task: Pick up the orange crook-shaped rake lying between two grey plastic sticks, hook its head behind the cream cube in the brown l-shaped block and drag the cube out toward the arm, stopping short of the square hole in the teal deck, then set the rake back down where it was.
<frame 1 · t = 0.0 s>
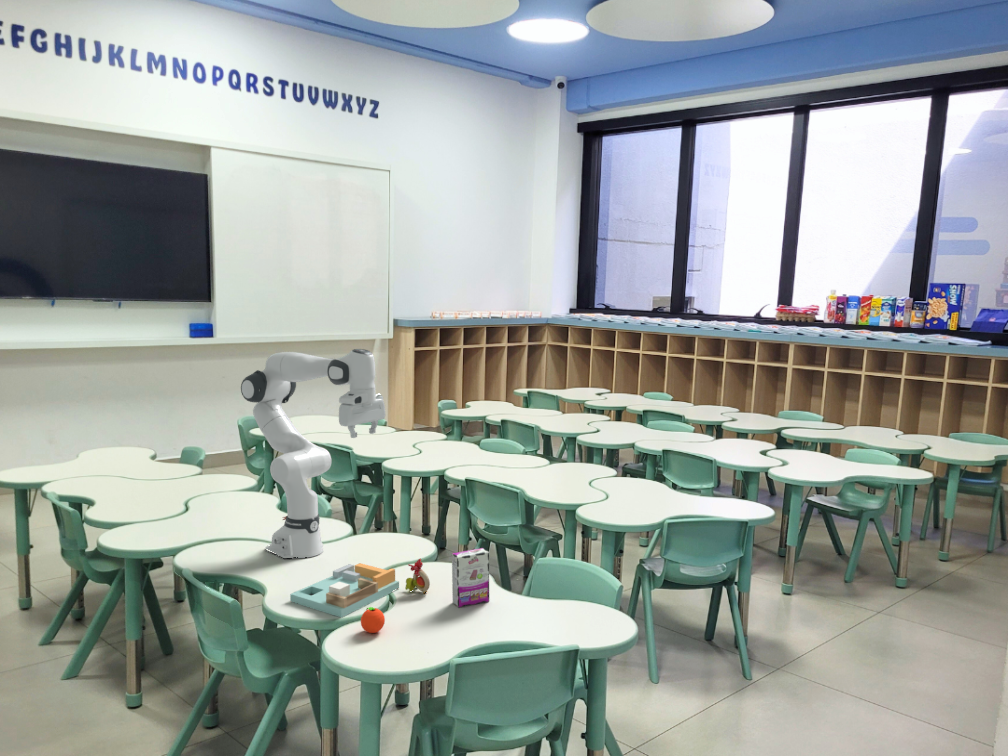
hand: (363, 435, 268), 48 cm above the table, tool pointing down, fingers open, 8 cm apart
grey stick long: (351, 579, 257), point 2 cm above the table, touching deck
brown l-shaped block: (352, 597, 242), resting on deck
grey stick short: (343, 574, 261), point 2 cm above the table, touching deck
deck: (345, 595, 250), on the table
clementine: (372, 632, 224), on the table
cube: (339, 599, 240), point 2 cm above the table, touching deck
bird rattle: (419, 592, 253), on the table
rake: (372, 576, 259), point 2 cm above the table, touching deck
candy bar box: (470, 602, 245), on the table
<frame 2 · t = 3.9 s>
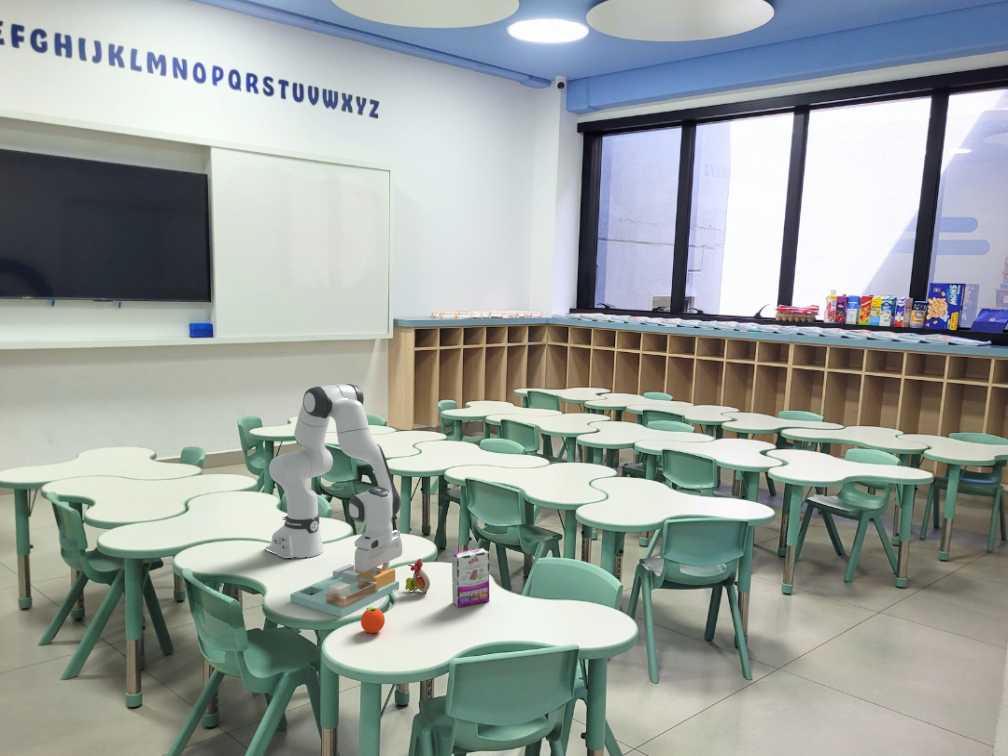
hand: (379, 576, 257), 3 cm above the table, tool pointing down, fingers closed on rake, 3 cm apart
rake: (372, 576, 259), point 2 cm above the table, touching deck, gripper
everything else where it was.
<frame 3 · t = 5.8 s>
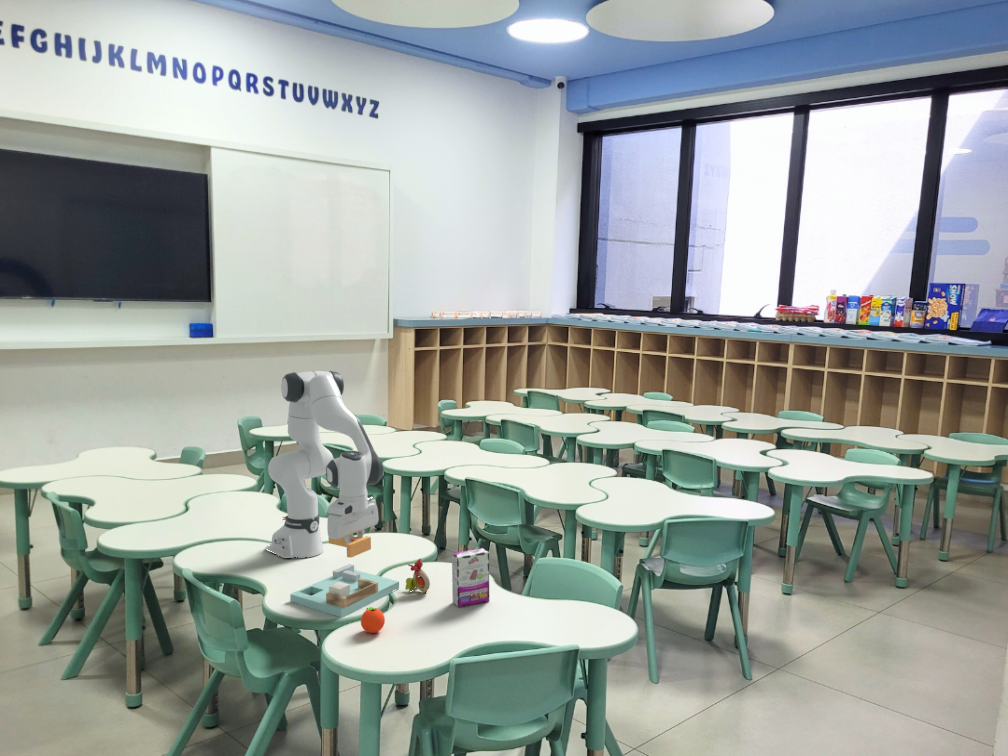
hand: (354, 545, 245), 18 cm above the table, tool pointing down, fingers closed on rake, 3 cm apart
rake: (347, 545, 247), point 17 cm above the table, touching gripper
everything else where it was.
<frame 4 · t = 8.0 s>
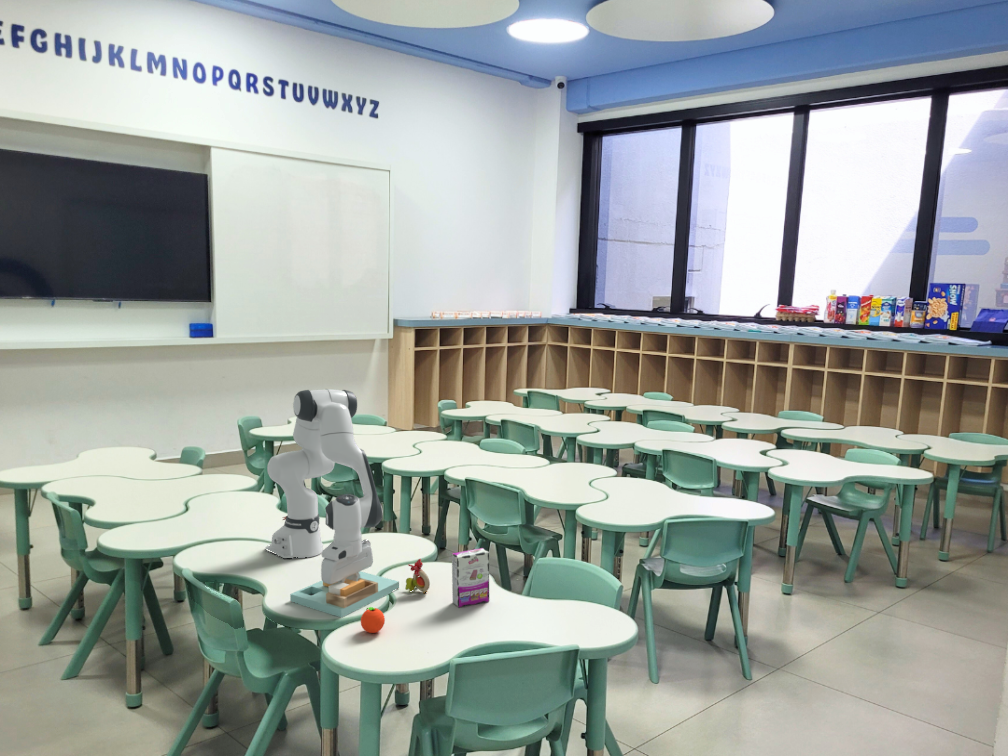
hand: (348, 588, 246), 4 cm above the table, tool pointing down, fingers closed on rake, 3 cm apart
cube: (339, 599, 240), point 3 cm above the table, touching rake
rake: (341, 588, 248), point 3 cm above the table, touching cube, gripper
everything else where it was.
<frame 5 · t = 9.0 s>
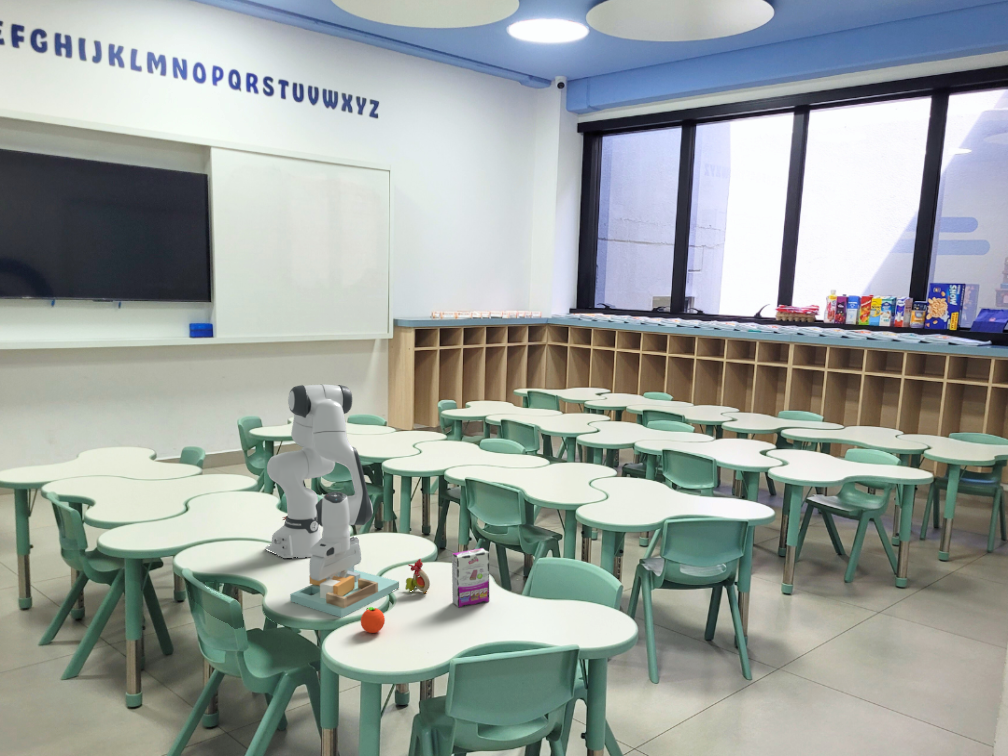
hand: (336, 584, 249), 4 cm above the table, tool pointing down, fingers closed on rake, 3 cm apart
cube: (330, 596, 242), point 3 cm above the table, touching deck, rake
rake: (329, 585, 250), point 3 cm above the table, touching cube, gripper
everything else where it was.
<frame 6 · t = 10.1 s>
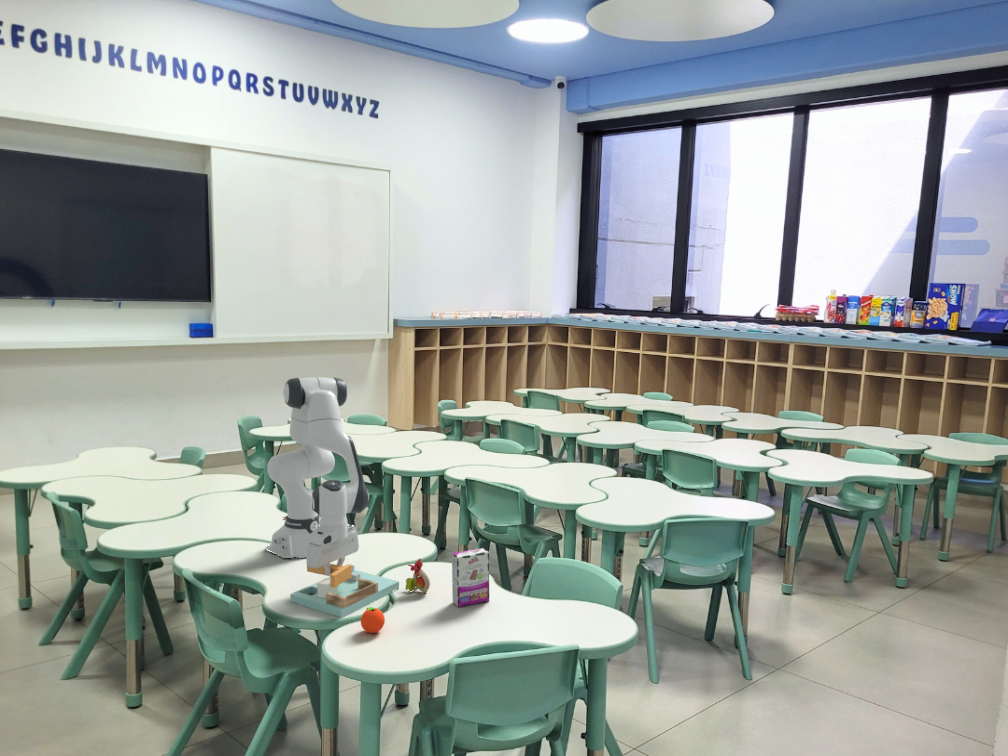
hand: (333, 572, 249), 7 cm above the table, tool pointing down, fingers closed on rake, 3 cm apart
cube: (328, 595, 243), point 3 cm above the table, touching deck
rake: (327, 573, 250), point 7 cm above the table, touching gripper
everything else where it was.
when the fingers open (4 cm above the table, at t = 13.3 s): rake stays where it is, resting on deck.
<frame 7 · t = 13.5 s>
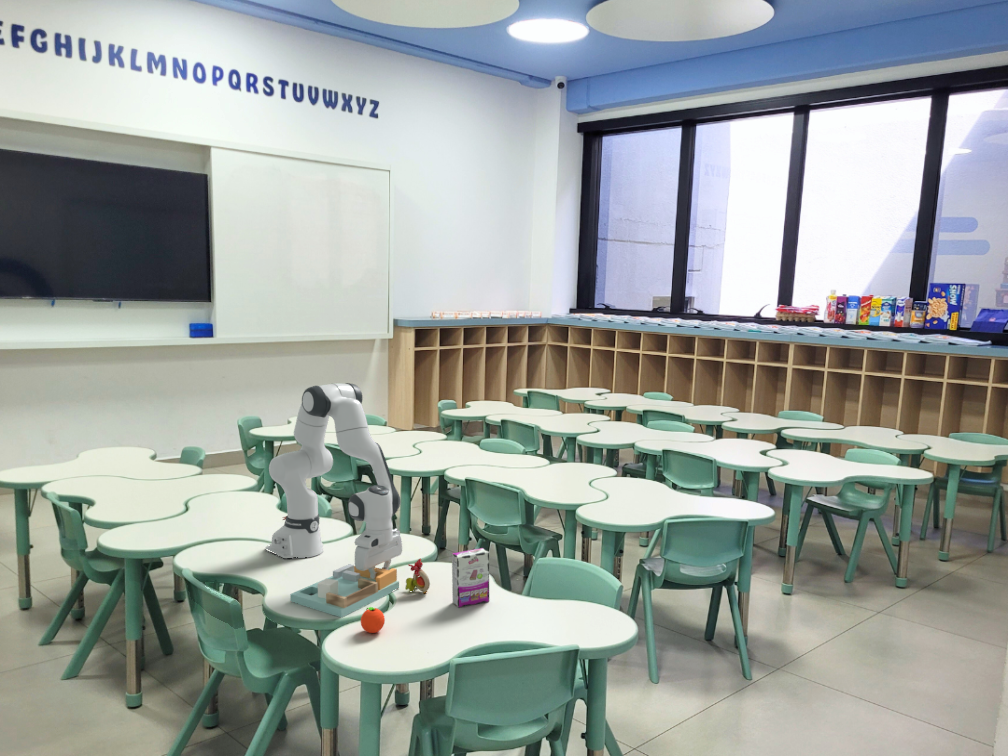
hand: (379, 575, 257), 4 cm above the table, tool pointing down, fingers open, 4 cm apart
rake: (373, 577, 259), point 2 cm above the table, touching deck
everything else where it was.
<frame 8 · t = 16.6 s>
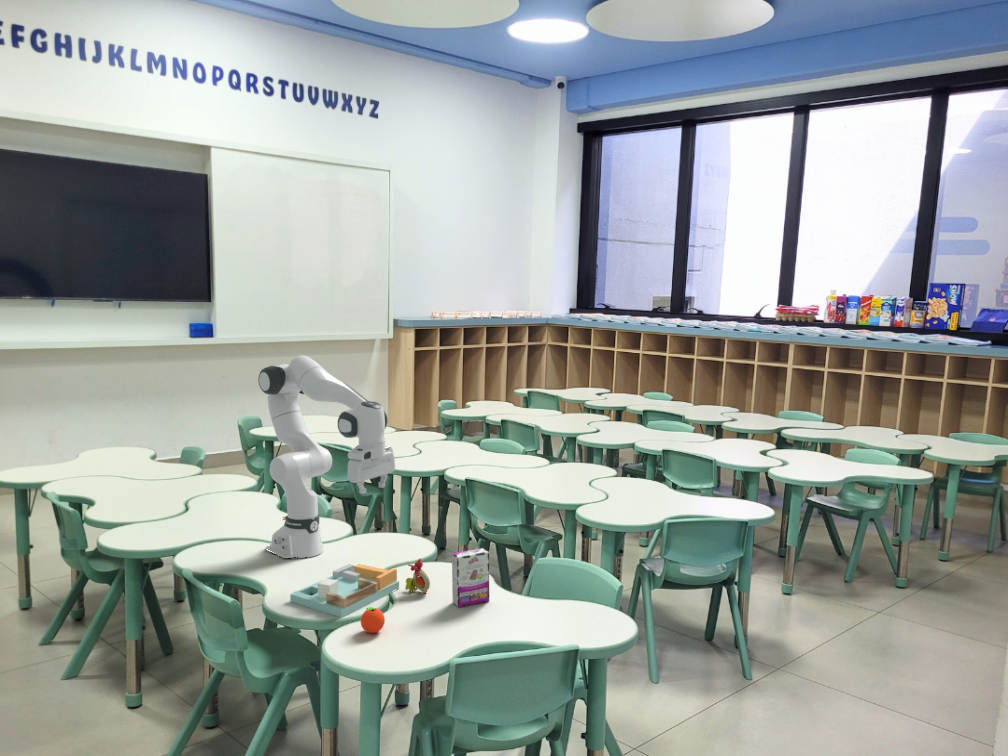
hand: (372, 490, 260), 31 cm above the table, tool pointing down, fingers open, 8 cm apart
nothing on the table moved.
at the end: cube inside the target area (0.7 cm from its centre), point 2.5 cm above the table; rake inside the target area (0.4 cm from its centre), point 2.5 cm above the table; the gripper is holding nothing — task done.
